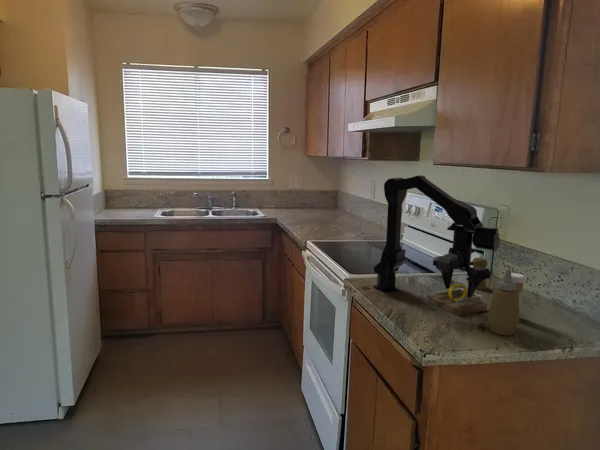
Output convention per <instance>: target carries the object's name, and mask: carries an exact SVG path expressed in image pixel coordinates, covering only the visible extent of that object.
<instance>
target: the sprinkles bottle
mask: <svg viewBox="0 0 600 450" xmlns="http://www.w3.org/2000/svg"><path fill="white" fill-rule="evenodd" d="M511 276H512V282H514V283H516V291H517V292H518V293H519V319H520V318H521V317H520V315H521V314H520V313H521V308H522V301H523V300H522V299H523V290H524V289H523V288H524V282H525V275H524V274H521V273H518V272H517V273H515V272H511Z"/></svg>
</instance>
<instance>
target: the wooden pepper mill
mask: <svg viewBox="0 0 600 450" xmlns="http://www.w3.org/2000/svg"><path fill="white" fill-rule="evenodd" d="M471 260H472V261H471V262H473V265H472V267H477V266H481V267H484V268H487V266H488V260H487V258H484V257H474V258H473V259H471ZM486 289H487V279H486V280H483V281H482V282H481V283H480V284H479V286H478V287H477V289H476V290H475V291H477V290H478V291H484V290H486Z"/></svg>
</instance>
